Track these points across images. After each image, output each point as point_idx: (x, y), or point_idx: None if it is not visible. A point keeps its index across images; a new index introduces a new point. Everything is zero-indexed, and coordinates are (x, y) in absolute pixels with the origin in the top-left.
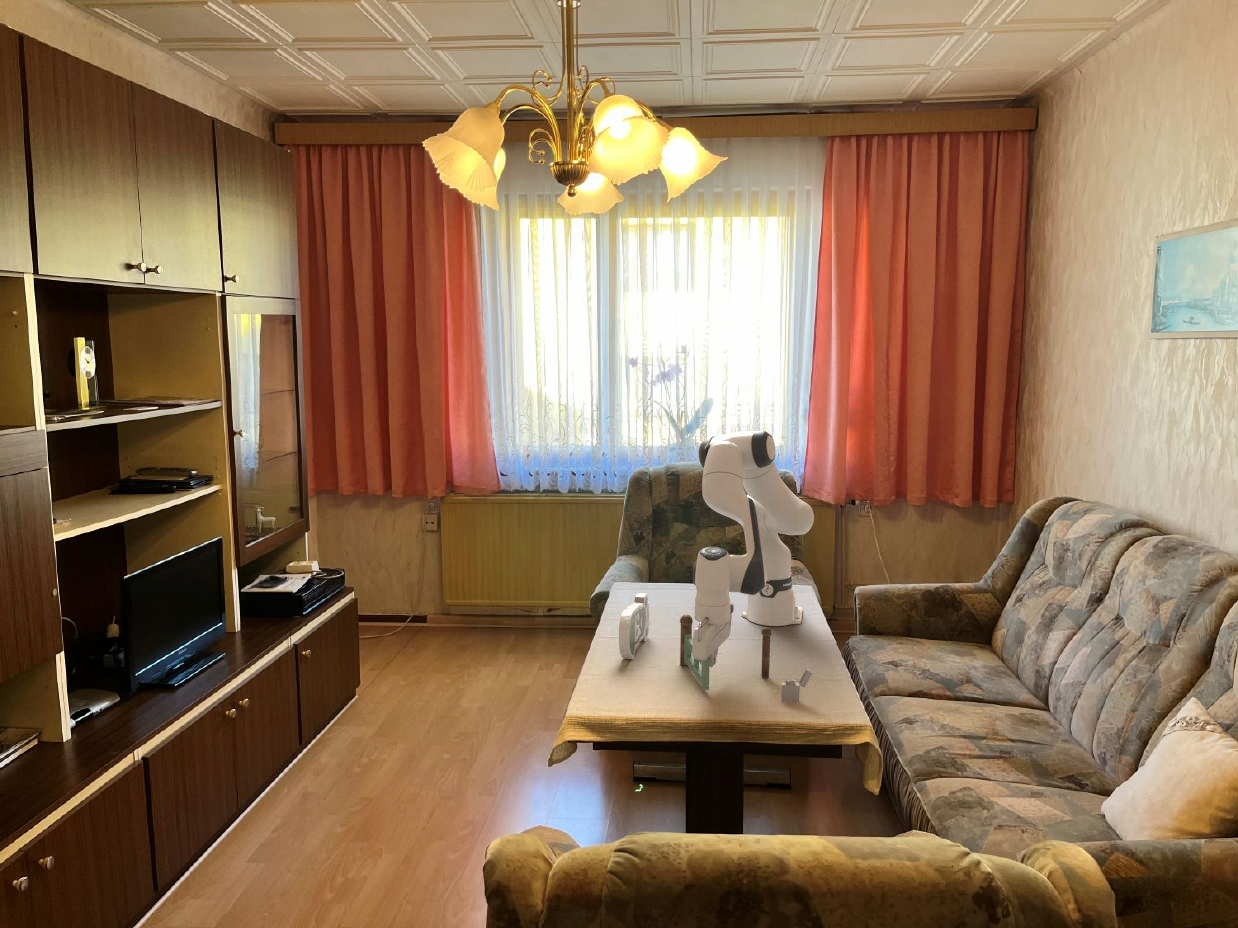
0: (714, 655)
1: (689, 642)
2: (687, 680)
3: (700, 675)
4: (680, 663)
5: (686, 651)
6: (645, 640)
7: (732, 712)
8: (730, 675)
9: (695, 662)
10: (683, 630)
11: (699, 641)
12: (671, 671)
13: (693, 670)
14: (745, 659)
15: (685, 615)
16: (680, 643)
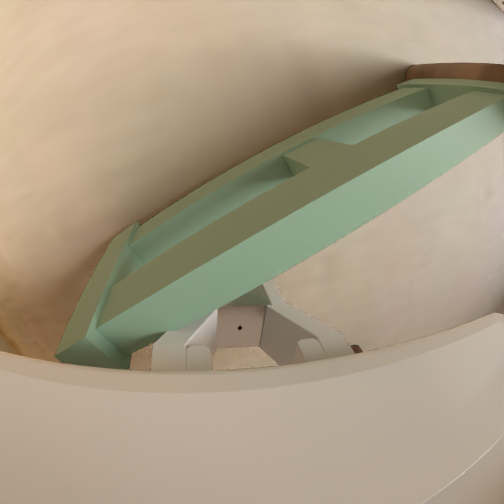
0: (273, 348)
1: (474, 109)
2: (255, 110)
3: (163, 224)
4: (416, 65)
5: (445, 87)
6: (495, 1)
7: (51, 350)
8: (355, 269)
9: (295, 162)
10: None
11: (32, 470)
12: (340, 28)
13: (298, 136)
14: (457, 267)
15: None
16: (486, 63)
